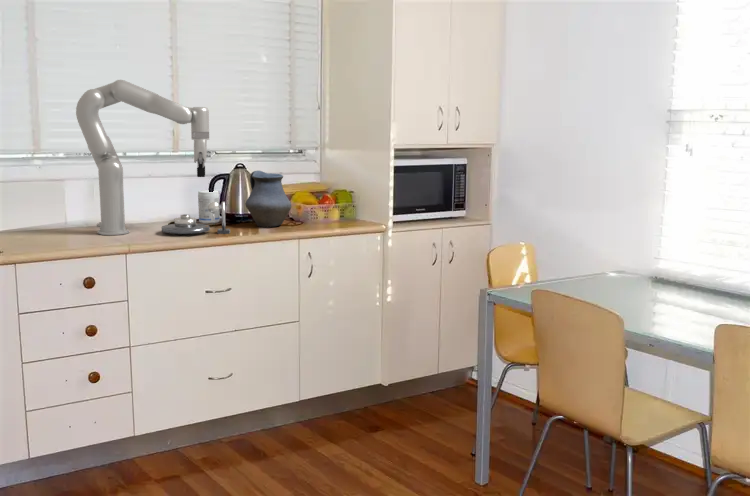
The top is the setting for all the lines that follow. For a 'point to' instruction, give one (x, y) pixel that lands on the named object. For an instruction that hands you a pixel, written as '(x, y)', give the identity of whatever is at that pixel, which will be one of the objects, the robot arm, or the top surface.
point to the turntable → (185, 229)
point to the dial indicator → (214, 207)
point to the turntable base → (186, 234)
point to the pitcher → (267, 199)
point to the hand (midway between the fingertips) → (201, 175)
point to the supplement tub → (203, 202)
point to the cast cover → (185, 221)
